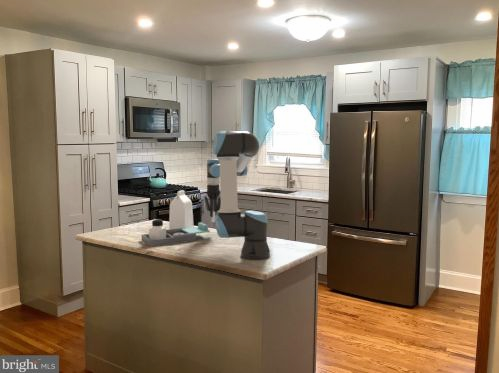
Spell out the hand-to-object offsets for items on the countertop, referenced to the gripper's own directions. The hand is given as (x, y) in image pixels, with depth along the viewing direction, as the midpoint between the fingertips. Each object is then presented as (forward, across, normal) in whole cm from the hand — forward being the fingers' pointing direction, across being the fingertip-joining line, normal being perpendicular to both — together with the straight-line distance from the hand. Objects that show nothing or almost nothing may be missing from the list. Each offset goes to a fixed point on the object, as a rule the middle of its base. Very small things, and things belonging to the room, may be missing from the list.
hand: (213, 221), depth 281 cm
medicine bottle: (+7, +36, 0) cm, 37 cm away
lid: (+4, +12, 0) cm, 13 cm away
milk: (+9, +13, -20) cm, 25 cm away
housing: (+8, +29, 0) cm, 30 cm away
